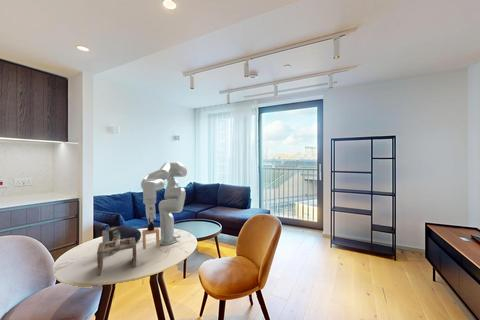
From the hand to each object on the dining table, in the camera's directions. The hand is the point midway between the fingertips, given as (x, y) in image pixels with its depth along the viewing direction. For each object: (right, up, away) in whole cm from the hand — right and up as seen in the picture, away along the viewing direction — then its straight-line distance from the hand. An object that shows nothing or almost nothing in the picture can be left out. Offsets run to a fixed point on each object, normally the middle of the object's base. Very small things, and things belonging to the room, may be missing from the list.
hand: (150, 229), depth 138 cm
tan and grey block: (0, -11, 0) cm, 11 cm away
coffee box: (-30, -19, +10) cm, 37 cm away
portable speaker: (-30, -19, +31) cm, 47 cm away
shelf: (-16, -19, -9) cm, 26 cm away
